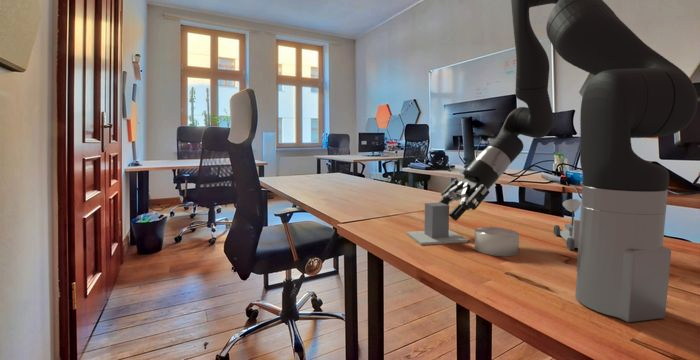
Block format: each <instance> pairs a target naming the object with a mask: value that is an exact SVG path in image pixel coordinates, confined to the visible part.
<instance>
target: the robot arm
mask: <svg viewBox="0 0 700 360" xmlns="http://www.w3.org/2000/svg"><path fill="white" fill-rule="evenodd" d="M510 2H511V3H510V4H511V15H512V25H513V26H512V27H513V36H514V45H515V56H516V57H515V58H516V59H515V60H516V62H515V63H516V66H515V67H516V69H515V71H516V73H515V97H516V98H517V99H518V100H520V101H522V102H523V103H525V104H526V106H527V107H525V106H519V107H516V108H514V109H512V111H511V112H510V113H509V114H508V115H507V117H506V119H505V120H504V123H503V125H502V127H501V128H500V130H499V132H498V134H497V136H496V137H495V138H494V139H493V140H492V141H491V143H489V144H488V145H487V147H486V148H485V149H483V150H482V151H481V152H480V153H478V155H477V156H475V158H474V159H473V160H472V161H471V162H470V163H469V164H468V165H467V167H466V168H464V170H463V171H462V173H463V174H462V175H463V176H464V177H463V179H462V180H460V181H459V180H458V179H457V178H455V179H454V180H453V181H451V182H450V183H449V184H448V186H447V187H446V188H445V189H444V190H443V191H442V192H441V193H440V196H441V197H442V198H441V199H440V200H439V201H438V203H440V202H441V203H444V204H447V205H449V206H450V204H451V203H453V202H454V201H456V202H458V201H459V200H460V202H459V203H458V204H456V206H455V207H454V208H453V209H452V210H451V212H449V218H451V219H452V220H453V221H455V222H457V220H459V219H460V217H462V216H463V214H464V213H466V211H469V210H472V211H475V210H476V209H478V207H479V205H480V204H481V203H483V201H484V200H485V198H487V197H488V195H489V194H490V190H489V189H491V187H492V186H494V184H495V183H496V182H497V181H498V180H499V178H501V176H502V175H503V174H504V173H505V172H506V170H507V169H508V167H509V166H510V165H511V164H512V163H513V162H514V161H515V159H516V158H517V157H518V156H519V155H520V154H521V153H522V151H523V150H524V143H523V141H522V139H521V138H520V137H518V136H520V135H522V136H525V137H530V138H532V139H533V138H535V139H542V138H544V137H547V135H549V133H550V132H551V130H552V128H553V125H554V112H553V108H552V103H551V100H550V95H549V91H548V88H549V79H550V77H549V76H550V60H549V56H548V53H547V52H546V50H545V48H544V46H543V45H542V43H541V42H540V41H539V39H538V37H537V35H536V34H535V31H534V29H533V27H532V24H531V20H530V19H531V18H530V8H534V7H540V6H545V5H554V7H553V8H552V10H551V12H550V13H549V16H548V18H547V22H546V26H545V27H546V28H545V29H546V36H547V38H548V40H549V41H550V44H551V46H552V47H553V48H554V50H555V52H556V53H557V54H558V55H559V56H560V57H561V59H562V60H564V61H566V62H567V63H569V64H570V65H572V66H573V67H575V68H578V69H579V70H582V71H584V72H587V73H589V74H591V75H592V78H591V79H590V80H589V81H588V83H587V84H586V87H585V89H584V91H583V93H582V94H583V95H582V98H581V103H580V116H579V117H580V119H579V122H580V123H579V124H580V127H579V128H580V132H579V133H580V134H579V135H580V139H579V140H580V143H579V144H580V147H579V148H580V149H579V151H580V152H579V153H580V154H579V160H580V161H579V162H580V167H581V172H582V173H581V174H582V185H581V188H582V189H581V201H580V202H581V204H580V217H579V220H580V230H579V245H578V248H577V250H578V251H577V261H576V262H577V263H576V265H577V266H576V279H575V295H574V296H575V299H576V300H577V301H578V302H579V303H580V304H582V305H583V306H584V307H587V308H589V309H591V310H593V311H595V312H598V313H601V314H604V315H607V316H610V317H614V318H618V319H620V320H622V321H624V322H626V323H633V322H640V321H647V320H648V321H649V320H656V319H665V318H666V311H667V309H666V308H667V300H668V292H669V291H668V289H669V282H670V281H669V279H670V272H671V271H670V268H671V259H672V249H671V248H669V247H667V246H664V239H665V238H664V237H665V226H666V225H665V224H666V213H667V204H668V194H669V193H668V192H669V185H670V184H669V183H670V173H669V170H668V169H667V168H666V167H664V166H662V165H659V164H656V163H653V162H650V161H648V160H645V159H644V158H641V157H640V155H638V154H637V153H636V152H634V150H633V148H632V146H633V145H632V139H650V138H658V137H659V138H660V137H666V136H671V135H675V134H676V133H678V132H680V131H682V130H684V129H686V128H687V127H688V126H689V125H690V124H691V122H692V121H693V119H694V118H695V115H696V114H697V110H698V105H699V104H698V102H699V101H698V92H697V89H696V87H695V84H694V83H693V81H692V79H691V78H690V77H689V76H688V74H687V73H686V72H685V71H683V70H682V69H681V68H680V67H679V66H677V65H676V64H675V63H673V62H672V61H670V60H669V59H668V58H666V57H664V56H663V55H662V54H660V53H659V52H657V51H656V50H654V49H653V48H652V47H650V46H649V45H648V44H646V43H645V41H643V40H642V39H641V38H640V37H638V35H637V34H636V33H634V31H633V30H632V29H631V28H629V27H628V25H626V24H625V23H624V22H623V21H622V20H621V19H620V18H619V17H618V15H616V13H615V12H614V10H612V8H611V7H610V6H609V5H608V4H607V3H606V2H605V1H604V0H511V1H510Z"/></svg>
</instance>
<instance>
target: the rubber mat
mask: <svg viewBox="0 0 700 360" xmlns="http://www.w3.org/2000/svg"><path fill="white" fill-rule="evenodd" d="M424 231H425V230H417V231H415V230H414V231H412V230H411V231H406V233H405V234H406V236H408V237H410V238H411V239H412V240H413V241H415V242H416V243H417V244H418V245H420V246H429V245H443V244H444V245H445V244H458V243H459V244H460V243H469V239H467V238H466V237H464V236H462V235H460V234H458V233H456V232H455V231H452V230H450V229H449V237H446V238H430V237H429V236H427V235H426V234H424Z"/></svg>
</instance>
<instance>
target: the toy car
mask: <svg viewBox="0 0 700 360" xmlns="http://www.w3.org/2000/svg"><path fill="white" fill-rule="evenodd" d="M562 206H563V208H565V209H566V210H567V211H569V212H570V213H571V223H565V224H564V228H565V229H563V228H562V229H561V227H560V225H559V224H558V225H557V224H554V226H553V235H554V234H555V235H556V236H555V235H554V236H555V237H560V236H561V238H563V239H564V241H566V248H567V250H568V251H575V249H576V248H577V249H578V245H579V230H580V219H574V218H575V213H577V211H578V210H579V209H580V208H581V201H580V200H579V199H577V198H569V199H566V200H564V201H563V202H562Z"/></svg>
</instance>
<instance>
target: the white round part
mask: <svg viewBox="0 0 700 360" xmlns="http://www.w3.org/2000/svg"><path fill="white" fill-rule="evenodd" d="M473 246H474V247H473V248H474V250H475V251H477V252H479V253H481V254H484V255H488V256H495V257H513V256H517V255H519V248H520V247H519V246H520V233H519V232H517V231H516V230H512V229H508V228H503V227H496V226H495V227H494V226H487V227H486V226H485V227H478V228H475V229H474V245H473Z"/></svg>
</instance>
